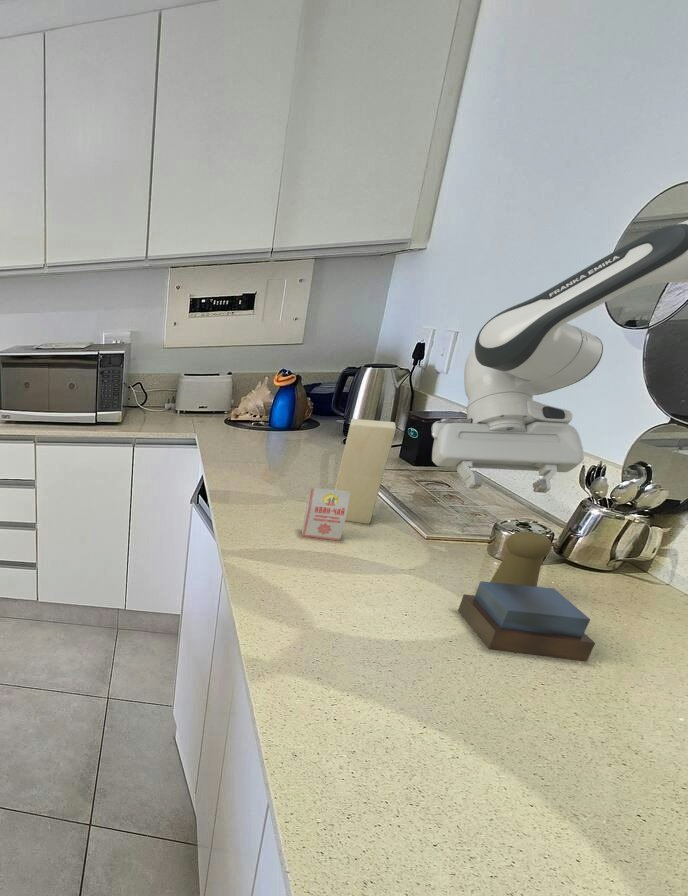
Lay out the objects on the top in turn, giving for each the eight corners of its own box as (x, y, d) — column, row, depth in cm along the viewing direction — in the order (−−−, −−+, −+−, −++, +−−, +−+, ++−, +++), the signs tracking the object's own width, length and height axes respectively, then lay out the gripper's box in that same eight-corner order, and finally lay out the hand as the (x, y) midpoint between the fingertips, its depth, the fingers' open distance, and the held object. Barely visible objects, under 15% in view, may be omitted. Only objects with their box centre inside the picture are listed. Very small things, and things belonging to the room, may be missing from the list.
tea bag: (301, 529, 123) (311, 485, 119) (338, 534, 120) (349, 488, 116) (302, 536, 120) (312, 490, 116) (340, 540, 117) (351, 494, 113)
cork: (534, 594, 95) (559, 533, 91) (533, 608, 91) (559, 546, 87) (486, 583, 99) (508, 524, 95) (483, 597, 95) (506, 536, 91)
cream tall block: (370, 513, 129) (395, 420, 121) (370, 524, 124) (396, 428, 115) (329, 508, 133) (350, 417, 125) (328, 518, 128) (349, 424, 119)
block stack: (544, 620, 88) (559, 586, 86) (587, 661, 79) (604, 624, 76) (457, 610, 92) (469, 577, 89) (488, 648, 82) (502, 612, 80)
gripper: (438, 408, 104) (443, 476, 99) (584, 411, 97) (596, 484, 93) (423, 427, 109) (427, 492, 105) (559, 431, 103) (570, 501, 98)
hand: (507, 489), depth 99 cm, fingers open, 8 cm apart
